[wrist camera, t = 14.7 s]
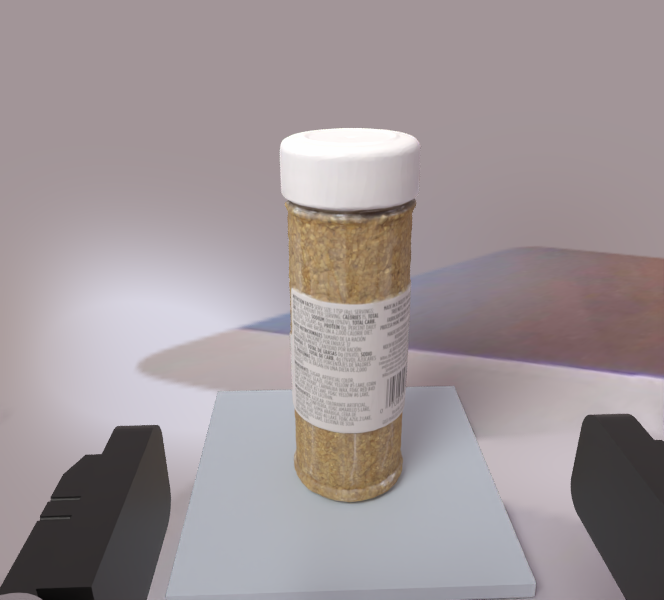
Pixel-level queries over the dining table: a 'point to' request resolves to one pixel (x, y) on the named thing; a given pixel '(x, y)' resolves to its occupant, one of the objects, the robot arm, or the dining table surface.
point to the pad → (345, 515)
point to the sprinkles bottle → (349, 303)
